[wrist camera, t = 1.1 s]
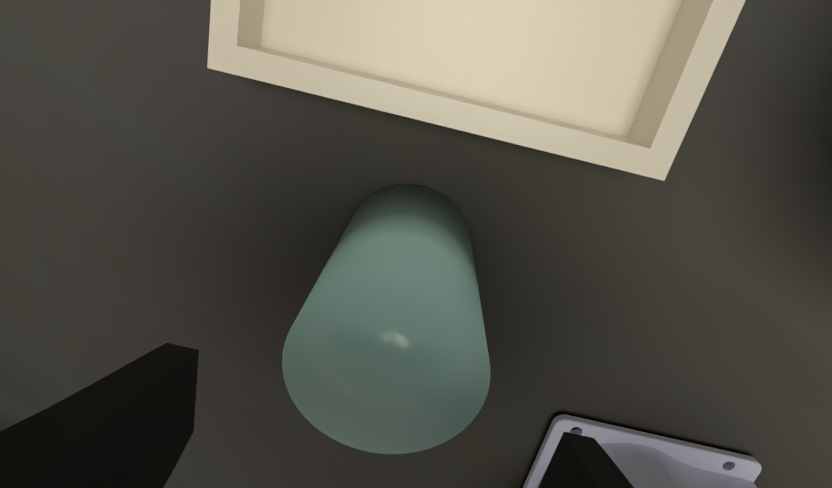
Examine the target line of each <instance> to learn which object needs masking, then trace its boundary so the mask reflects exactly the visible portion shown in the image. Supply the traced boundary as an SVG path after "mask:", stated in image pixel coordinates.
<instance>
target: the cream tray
mask: <svg viewBox="0 0 832 488" xmlns="http://www.w3.org/2000/svg"><path fill="white" fill-rule="evenodd" d="M744 3H745V0H211V13H210V30H209V48H208V65H207V68H210V69H214V70H218V71H222V72H226V73H230V74H234V75H238V76H242V77H246V78H250V79H254V80H258V81H262V82H267V83H271V84H275V85H279V86H283V87H287V88H291V89H295V90H299V91H303V92H307V93H311V94H315V95H319V96H323V97H327V98H331V99H335V100H339V101H343V102H347V103H351V104H356V105H360V106H364V107H368V108H372V109H376V110H380V111H384V112H388V113H392V114H396V115H400V116H404V117H408V118H412V119H416V120H420V121H424V122H428V123H432V124H436V125H441V126H445V127H449V128H453V129H457V130H461V131H465V132H469V133H473V134H477V135H481V136H485V137H489V138H493V139H497V140H501V141H505V142H509V143H513V144H517V145H521V146H525V147H530V148H534V149H538V150H542V151H546V152H550V153H554V154H558V155H562V156H566V157H570V158H574V159H578V160H582V161H586V162H590V163H594V164H598V165H602V166H606V167H610V168H614V169H619V170H623V171H627V172H631V173H635V174H639V175H643V176H647V177H651V178H655V179H659V180H663V181H664V180H665V178H666V176H667V174H668V171H669V169H670V167H671V165H672V163H673V160H674V158H675V156H676V154H677V151H678V149H679V147H680V145H681V143H682V140H683V138H684V136H685V134H686V131H687V129H688V127H689V125H690V123H691V120H692V118H693V116H694V114H695V111H696V109H697V107H698V105H699V103H700V100H701V98H702V96H703V94H704V91H705V89H706V87H707V85H708V83H709V80H710V78H711V76H712V74H713V71H714V69H715V67H716V65H717V63H718V60H719V58H720V56H721V54H722V51H723V49H724V47H725V45H726V43H727V40H728V38H729V36H730V34H731V31H732V29H733V27H734V25H735V23H736V20H737V18H738V16H739V14H740V11H741V9H742V7H743V5H744Z"/></svg>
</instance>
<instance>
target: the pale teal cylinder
mask: <svg viewBox="0 0 832 488" xmlns="http://www.w3.org/2000/svg"><path fill="white" fill-rule="evenodd" d="M282 369H283V376H284V380H285V385H286V387H287V390H288V392H289V395H290V397H291V398H292V400H293V402H294V404H295V405H296V407H297V408H298V409H299V411H300V412H301V413H302V415H303V416H304V417H305V418H306V419H307V420H308V421H309V422H310V423H311V424H312V425H313V426H315V427H316V428H317V429H318V430H320V431H321V432H322V433H324V434H326V435H327V436H329V437H330V438H332V439H334V440H336V441H338V442H340V443H342V444H344V445H347V446H350V447H352V448H355V449H359V450H363V451H367V452H373V453H380V454H406V453H413V452H418V451H422V450H427V449H430V448H432V447H435V446H438V445H440V444H442V443H444V442H446V441H448V440H450V439H451V438H453V437H454V436H456V435H458V434H459V433H460V432H461V431H463V430H464V429H465V428H466V427H467V426H468V425H469V424H470V423H471V422H472V421H473V420H474V418H475V417H476V416H477V414H478V413H479V411H480V410H481V408H482V406H483V404H484V402H485V399H486V397H487V393H488V390H489V385H490V376H491V374H490V361H489V354H488V347H487V341H486V334H485V328H484V321H483V315H482V308H481V302H480V295H479V289H478V282H477V275H476V269H475V262H474V256H473V249H472V243H471V236H470V231H469V227H468V224H467V222H466V219H465V218H464V216H463V214H462V212H461V211H460V210H459V208H458V207H457V206H456V205H455V204H454V203H453V202H452V201H451V200H450V199H449V198H448V197H446V196H445V195H443V194H442V193H440V192H438V191H436V190H434V189H432V188H429V187H425V186H422V185H416V184H399V185H393V186H389V187H386V188H384V189H381V190H379V191H377V192H375V193H374V194H372V195H371V196H369V197H368V198H367V199H366V200H365V201H364V202H362V203H361V205H360V206H359V207H358V208H357V210H356V212H355V213H354V215H353V217H352V218H351V220H350V222H349V224H348V226H347V227H346V229H345V231H344V233H343V235H342V236H341V238H340V240H339V242H338V244H337V245H336V247H335V249H334V251H333V253H332V254H331V256H330V258H329V260H328V262H327V264H326V265H325V267H324V269H323V271H322V273H321V274H320V276H319V278H318V280H317V282H316V283H315V285H314V287H313V289H312V291H311V292H310V294H309V296H308V298H307V300H306V301H305V303H304V305H303V307H302V309H301V310H300V312H299V314H298V316H297V318H296V320H295V321H294V323H293V325H292V327H291V329H290V330H289V333H288V335H287V338H286V340H285V344H284V349H283V355H282Z"/></svg>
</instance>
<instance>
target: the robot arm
mask: <svg viewBox="0 0 832 488" xmlns="http://www.w3.org/2000/svg"><path fill="white" fill-rule="evenodd" d="M198 353H199V350H196V349H192V348H187V347H183V346H178V345H174V344H169V343H166V344H164V345H162V346H160V347H158V348H156V349H155V350H153V351H151V352H149V353H147V354H145V355H144V356H142V357H140V358H138V359H136V360H135V361H133V362H131V363H129V364H127V365H126V366H124V367H122V368H120V369H119V370H117V371H115V372H113V373H111V374H110V375H108V376H106V377H104V378H102V379H100V380H99V381H97V382H95V383H93V384H91V385H90V386H88V387H86V388H84V389H82V390H80V391H78V392H77V393H75V394H73V395H71V396H69V397H67V398H65V399H64V400H62V401H60V402H58V403H56V404H54V405H52V406H50V407H49V408H47V409H45V410H43V411H41V412H39V413H37V414H35V415H33V416H31V417H29V418H27V419H25V420H23V421H21V422H19V423H17V424H15V425H13V426H11V427H9V428H7V429H5V430H3V431H1V432H0V488H163V487H164V485H165V484H166V482H167V480H168V478H169V477H170V475H171V473H172V471H173V469H174V467H175V466H176V464H177V462H178V460H179V458H180V456H181V454H182V452H183V450H184V448H185V447H186V445H187V443H188V441H189V439H190V437H191V435H192V433H193V431H194V415H195V399H196V384H197V368H198ZM574 427H579V428H578V429H575V430H571V429H572V428H574ZM761 469H762V468H761V465H760V464H759V462H758V461H757V460H756V459H755V458H754V457H752V456H748V455H743V454H739V453H734V452H730V451H725V450H721V449H717V448H712V447H708V446H703V445H699V444H694V443H690V442H686V441H681V440H677V439H672V438H668V437H663V436H659V435H655V434H650V433H646V432H641V431H637V430H632V429H628V428H624V427H619V426H615V425H610V424H606V423H601V422H597V421H592V420H588V419H584V418H579V417H575V416H570V415H558V416H557V417H555V418H554V419H553V421H552V423H551V425H550V427H549V429H548V432H547V434H546V436H545V438H544V441H543V443H542V445H541V447H540V450H539V452H538V454H537V456H536V459H535V461H534V463H533V465H532V468H531V470H530V472H529V474H528V477H527V479H526V481H525V483H524V485H523V488H757V487H756V485H755V484H754V481H755V479H756V478H757V476H758V475H759V474H760V472H761Z"/></svg>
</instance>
